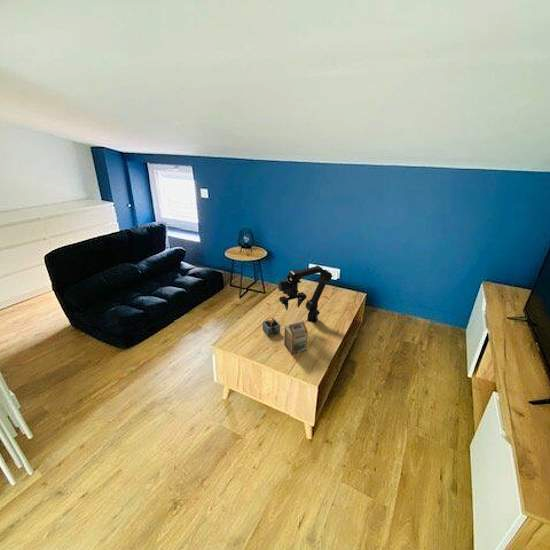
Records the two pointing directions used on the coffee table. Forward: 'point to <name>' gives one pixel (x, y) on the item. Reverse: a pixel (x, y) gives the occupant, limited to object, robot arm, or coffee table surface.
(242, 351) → the coffee table surface
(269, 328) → the press
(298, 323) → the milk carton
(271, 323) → the plunger
